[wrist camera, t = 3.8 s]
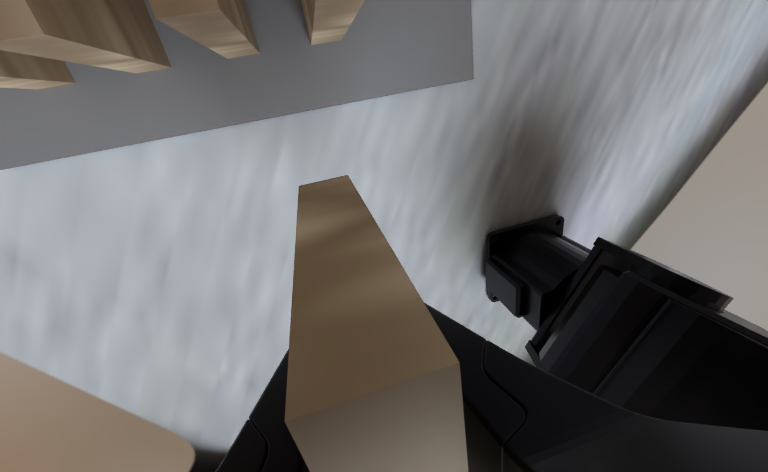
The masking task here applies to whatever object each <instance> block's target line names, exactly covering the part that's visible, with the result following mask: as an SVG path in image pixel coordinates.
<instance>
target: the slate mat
mask: <svg viewBox="0 0 768 472" xmlns="http://www.w3.org/2000/svg"><path fill="white" fill-rule="evenodd" d="M244 2H245V5H246V9H247V12H248V15H249V19H250V22H251V25H252V28H253V32H254V35H255V38H256V42H257V45H258V48H259V52H260V53H259V54H253V55H247V56H240V57H234V58H228V59H227V58H225V57H223V56H222V55H220V54H218V53H216V52H214V51H213V50H211V49H209V48H207V47H206V46H204V45H202V44H200V43H198V42H197V41H195V40H193V39H191V38H189V37H188V36H186V35H184V34H182V33H181V32H179V31H177V30H175V29H173V28H172V27H170V26H168V25H166V24H164V23H163V22H161V21H159V20H157V19H156V18H155V15H154V13H153V11H152V8H151V6H150V3H149V1H148V0H144V3H145V5H146V7H147V10H148V12H149V14H150V17H151V19H152V22H153V24H154V26H155V29H156V31H157V34H158V36H159V38H160V41H161V43H162V45H163V48H164V50H165V53H166V55H167V57H168V60H169V62H170V64H171V67H172V68H166V69H160V70H154V71H148V72H142V73H131V72H125V71H120V70H114V69H108V68H102V67H96V66H91V65H85V64H79V63H73V62H67V61H64V62H65V64H66V66H67V67H68V69H69V71H70V73H71V75H72V76H73V78H74V80H75V82H76V83H74V84H68V85H61V86H55V87H49V88H43V89H20V88H0V170H3V169H8V168H13V167H19V166H24V165H29V164H34V163H39V162H45V161H50V160H55V159H60V158H65V157H71V156H76V155H81V154H86V153H91V152H97V151H102V150H107V149H112V148H117V147H122V146H128V145H133V144H138V143H143V142H148V141H154V140H159V139H164V138H169V137H174V136H180V135H185V134H190V133H195V132H200V131H206V130H211V129H216V128H221V127H226V126H232V125H237V124H242V123H247V122H252V121H258V120H263V119H268V118H273V117H278V116H284V115H289V114H294V113H299V112H304V111H310V110H315V109H320V108H325V107H330V106H336V105H341V104H346V103H351V102H356V101H362V100H367V99H372V98H377V97H382V96H388V95H393V94H398V93H403V92H408V91H414V90H419V89H424V88H429V87H434V86H440V85H445V84H450V83H455V82H460V81H466V80H471V79H474V78H473V48H472V18H471V0H365V1H364V2H363V4H362V6H361V7H360V9H359V11H358V13H357V14H356V16H355V18H354V20H353V21H352V23H351V25H350V26H349V28H348V30H347V32H346V33H345V35H344V37H343V39H342V40H339V41H333V42H327V43H321V44H315V45H311V42H310V38H309V33H308V29H307V25H306V20H305V16H304V12H303V8H302V3H301V0H244Z"/></svg>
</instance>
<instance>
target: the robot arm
mask: <svg viewBox="0 0 768 472" xmlns="http://www.w3.org/2000/svg"><path fill="white" fill-rule="evenodd" d="M556 221H557V222H556ZM563 226H564V218H563V217H562V216H559V215H553V216H549V217H545V218H542V219H538V220H534V221H531V222H527V223H523V224H520V225H516V226H512V227H509V228H505V229H501V230H498V231H494V232H491V233H490V234H488V236H487V260H486V287H487V288H488V298H489V299H490V300H491V301H492V302H497V301H501V302H502V303H503V304H504V305H505V306H506V308H507V309H508V310H509V311H510V312H511V313H512V314H513V315H514V316H516V317H518V318H519V317H523V318H524V319H525V320H526V321H527V322H528V323H529V324H530V325H531V326H532V327H533V328H534V329H535V330H536V331H537V332H536V334H535V335H534V337H533V338H532V340H529V341H528V343H527V344H526V346H525V348H526V350H527V352H528V353H529V355H530V357H531V359H532V360H533V362H534V364H535V366H536V367H535V366H533V365H531V364H529V363H527V362H525V361H523V360H521V359H520V358H518V357H516V356H514V355H512V354H511V353H509V352H507V351H505V350H503V349H502V348H500V347H498V346H497V345H495V344H493V343H492V342H490V341H486V340H485V338H483V337H481V336H479V335H478V334H476V333H474V332H473V331H471V330H469V329H468V328H466V327H464V326H463V325H461V324H459V323H458V322H456V321H454V320H453V319H451V318H449V317H447V316H446V315H444V314H442V313H441V312H439V311H437V310H436V309H434V308H432V307H431V306H429V305H427V304H426V303H424V304H425V305H426V307H427V309H428V310H429V312H430V314H431V316H432V317H433V319H434V321H435V322H436V324H437V326H438V327H439V329H440V331H441V332H442V334H443V336H444V337H445V339H446V341H447V342H448V344H449V346H450V347H451V349H452V351H453V352H454V354H455V356H456V357H457V359H458V361H459V362H460V374H461V386H462V399H463V411H464V423H465V435H466V447H467V460H468V472H768V331H766V330H765V329H763V328H761V327H759V326H757V325H755V324H753V323H751V322H749V321H747V320H745V319H743V318H741V317H739V316H737V315H734V314H732V313H730V312H728V311H726V310H724V309H725V308H726V306H727V305H728V304H729V303H730V302H731V301H732V300H733V298H732V297H730V296H728V295H726V294H724V293H722V292H720V291H718V290H716V289H714V288H712V287H710V286H708V285H706V284H704V283H702V282H700V281H698V280H696V279H694V278H692V277H690V276H688V275H686V274H684V273H681V272H679V271H677V270H675V269H672V268H670V267H668V266H666V265H664V264H661V263H659V262H657V261H655V260H652V259H650V258H648V257H646V256H643V255H641V254H639V253H636V252H634V251H631V250H629V249H627V248H624V247H622V246H619V245H617V244H615V243H612V242H610V241H607V240H605V239H603V238H600V237H598V238H597V239H596V241H595V242H594V247H593V248H592V250H590V249H588V248H586V247H584V246H582V245H580V244H578V243H577V242H575V241H573V240H571V239H569V238H567V237H565V236H563ZM494 237H495V239H494V240H493V241H492V239H493V238H494ZM494 295H495V296H494ZM493 296H494V297H493ZM288 359H289V349H288V351H287V352H286V354H285V356H284V358H283V359H282V361H281V363H280V364H279V366H278V368H277V370H276V371H275V373H274V375H273V376H272V378H271V380H270V382H269V383H268V385H267V387H266V388H265V390H264V392H263V394H262V395H261V397H260V399H259V401H258V402H257V404H256V406H255V407H254V409H253V411H252V413H251V414H250V416H249V419H250V420H247V421H246V423H245V424H244V426H243V428H242V429H241V431H240V433H239V435H238V436H237V438H236V440H235V441H234V443H233V444H232V446H231V448H230V449H229V451H228V453H227V454H226V456H225V458H224V459H223V461H222V462H221V464H220V466H219V467H218V469H217V470H216V472H310V470H309V468H308V467H307V465H306V463H305V461H304V459H303V457H302V455H301V453H300V451H299V449H298V447H297V445H296V443H295V441H294V439H293V437H292V435H291V433H290V431H289V429H288V427H287V425H286V423H285V408H286V392H287V375H288Z"/></svg>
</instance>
